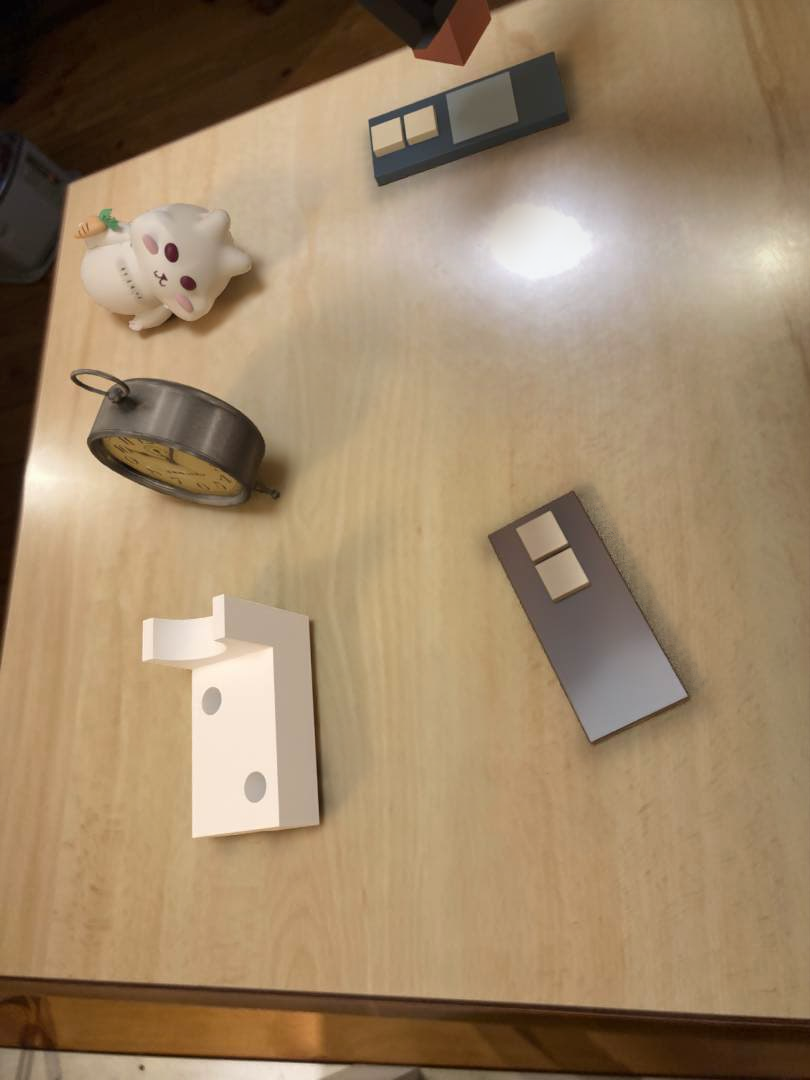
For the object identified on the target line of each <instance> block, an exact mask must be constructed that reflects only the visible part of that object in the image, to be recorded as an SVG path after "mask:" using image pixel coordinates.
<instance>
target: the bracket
mask: <svg viewBox="0 0 810 1080" xmlns="http://www.w3.org/2000/svg"><path fill="white" fill-rule="evenodd" d="M141 651H142V652H141V654H142V655H141V659H142V660H141V663H148V664H155V665H162V666H168V667H173V668H180V669H187V670H191V831H192V832H191V838H192V839H195V838H196V839H198V838H199V839H200V838H217V837H218V838H220V837H228V836H237V835H243V834H252V833H260V832H272V831H273V832H274V831H275V832H276V831H283V830H290V829H297V828H305V827H312V826H320V812H319V811H320V810H319V809H320V807H319V795H318V794H319V792H318V789H319V788H318V774H317V773H318V772H317V771H318V770H317V752H316V751H317V750H316V735H315V733H316V732H315V716H314V696H313V695H314V694H313V678H312V677H313V676H312V659H311V657H312V656H311V638H310V619H309V616H308V615H305V614H301V613H298V612H294V611H290V610H287V609H282V608H279V607H275V606H271V605H268V604H264V603H259V602H256V601H253V600H249V599H246V598H241V597H237V596H234V595H229V594H227V593H222V594H220V595H217V596H213V597H212V615H209V616H205V617H200V618H189V619H166V618H159V617H154V616H153V617H150V618H147V619H143V620H142V650H141Z"/></svg>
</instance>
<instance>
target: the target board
mask: <svg viewBox="0 0 810 1080" xmlns="http://www.w3.org/2000/svg"><path fill="white" fill-rule="evenodd" d="M562 86H563V85H562V81H561V77H560V72H559V67H558V63H557V58H556V54H555V51H550V52H547V53H545V54H542V55H539V56H537V57H534V58H531V59H528V60H526V61H523V62H520V63H517V64H515V65H512V66H510V67H507V68H504V69H502V70H498V71H496V72H494V73H490V74H488V75H485V76H483V77H480V78H477V79H474V80H472V81H469V82H466V83H464V84H461V85H458V86H455V87H453V88H449V89H447V90H445V91H441V92H438V93H437V94H434V95H431V96H428V97H425V98H423V99H421V100H420V99H419V100H418V101H414V102H412V103H409V104H407V105H404V106H401V107H397V108H396V109H393V110H390V111H387V112H385V113H383V114H379V115H377V116H374V117H371V118H369V119H368V120H367V122H368V130H369V141H370V149H371V157H372V167H373V176H374V180H375V181H376V184H377V186H378V187H381V186H384V185H387V184H389V183H393V182H396V181H398V180H401V179H404V178H407V177H410V176H412V175H416V174H418V173H421V172H425V171H427V170H430V169H432V168H436V167H439V166H442V165H444V164H448V163H450V162H453V161H456V160H459V159H462V158H465V157H468V156H471V155H473V154H476V153H479V152H482V151H486V150H489V149H491V148H493V147H497V146H499V145H503V144H506V143H508V142H511V141H514V140H518V139H520V138H523V137H527V136H529V135H531V134H534V133H537V132H540V131H543V130H546V129H550V128H551V127H555V126H557V125H561V124H563V123H566V122H569V121H570V117H569V113H568V107H567V104H566V103H567V102H566V99H565V93H564V90H563V89H564V88H563V87H562Z"/></svg>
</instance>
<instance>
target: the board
mask: <svg viewBox="0 0 810 1080" xmlns="http://www.w3.org/2000/svg"><path fill="white" fill-rule="evenodd" d="M487 539H488V541H489V542H490V544H491V546H492V549H493V550H494V553H495V554H496V556H497V559H498V561H499V562H500V565H501V566H502V569H503V571H504V573H505V575H506V577H507V579H508V581H509V583H510V585H511V587H512V589H513V591H514V593H515V595H516V597H517V599H518V601H519V603H520V605H521V608H522V610H523V611H524V613H525V615H526V617H527V620H528V621H529V623H530V626H531V627H532V629H533V632H534V633H535V635H536V637H537V639H538V641H539V643H540V646H541V647H542V649H543V652H544V653H545V655H546V658H547V659H548V661H549V664H550V666H551V668H552V670H553V671H554V674H555V676H556V678H557V680H558V682H559V684H560V686H561V688H562V691H563V692H564V694H565V696H566V698H567V700H568V702H569V704H570V706H571V708H572V710H573V713H574V714H575V716H576V718H577V720H578V722H579V725H580V726H581V728H582V730H583V732H584V735H585V737H586V738H587V741H588V742H589V744H591V745H592V746H593V745H596V744H598V743H600V742H603V741H605V740H606V739H609V738H611V737H613V736H615V735H617V734H619V733H622V732H624V731H626V730H628V729H630V728H632V727H634V726H636V725H639V724H641V723H642V722H645V721H647V720H649V719H651V718H653V717H655V716H658V715H659V714H662V713H664V712H666V711H668V710H670V709H672V708H674V707H677V706H678V705H681V704H683V703H685V702H687V701H689V700H690V698H691V697H690V694H689V692H688V691H687V689H686V687H685V686H684V684H683V682H682V680H681V678H680V677H679V675H678V673H677V671H676V669H675V667H674V666H673V664H672V662H671V661H670V658H669V657H668V655H667V653H666V652H665V650H664V648H663V646H662V645H661V642H660V641H659V639H658V637H657V636H656V634H655V633H654V630H653V628H652V627H651V625H650V623H649V622H648V619H647V618H646V616H645V614H644V612H643V611H642V609H641V607H640V605H639V604H638V602H637V600H636V598H635V596H634V594H633V593H632V591H631V589H630V587H629V586H628V584H627V583H626V580H625V579H624V577H623V575H622V573H621V572H620V570H619V568H618V566H617V565H616V563H615V561H614V560H613V558H612V555H611V553H610V552H609V551H608V549H607V546H606V545H605V543H604V542H603V540H602V538H601V536H600V534H599V533H598V531H597V529H596V527H595V525H594V523H593V521H592V520H591V519H590V517H589V515H588V512H586V510H585V508H584V506H583V504H582V503H581V500H580V499H579V497H578V495H577V493H576V492H575V491H574V490H571V491H569V492H567V493H565V494H564V495H562V496H559V497H557V498H556V499H554V500H552V501H550V502H548V503H546V504H544V505H543V506H540V507H539V508H537V509H534V510H533V511H531V512H529V513H527V514H526V515H524V516H521V517H520V518H518V519H515V520H514V521H512V522H510V523H508V524H507V525H505V526H503V527H501V528H499V529H497V530H496V531H494V532H492V533H490V534H488V535H487Z"/></svg>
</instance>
